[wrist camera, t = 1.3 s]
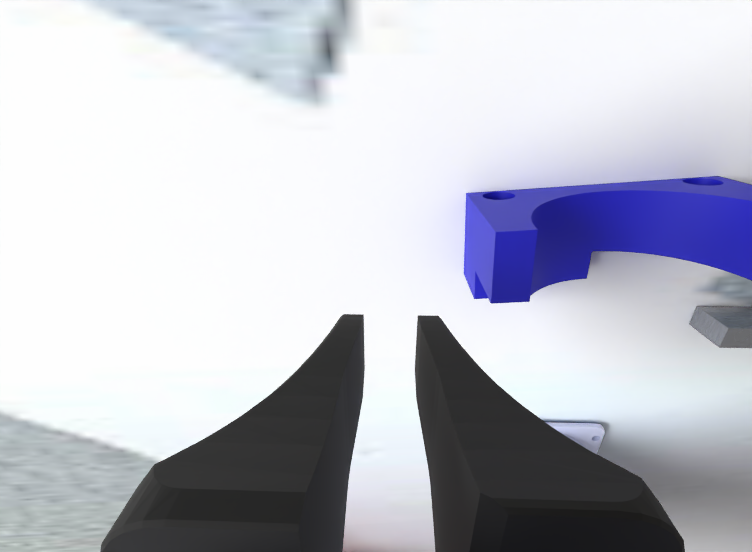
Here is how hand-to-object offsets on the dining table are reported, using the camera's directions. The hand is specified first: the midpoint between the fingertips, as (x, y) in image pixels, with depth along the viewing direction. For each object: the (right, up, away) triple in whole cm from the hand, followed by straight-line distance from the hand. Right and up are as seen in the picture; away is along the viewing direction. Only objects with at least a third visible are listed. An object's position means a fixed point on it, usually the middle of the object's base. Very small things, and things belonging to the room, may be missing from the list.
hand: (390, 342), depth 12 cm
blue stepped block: (+10, +5, +8) cm, 14 cm away
